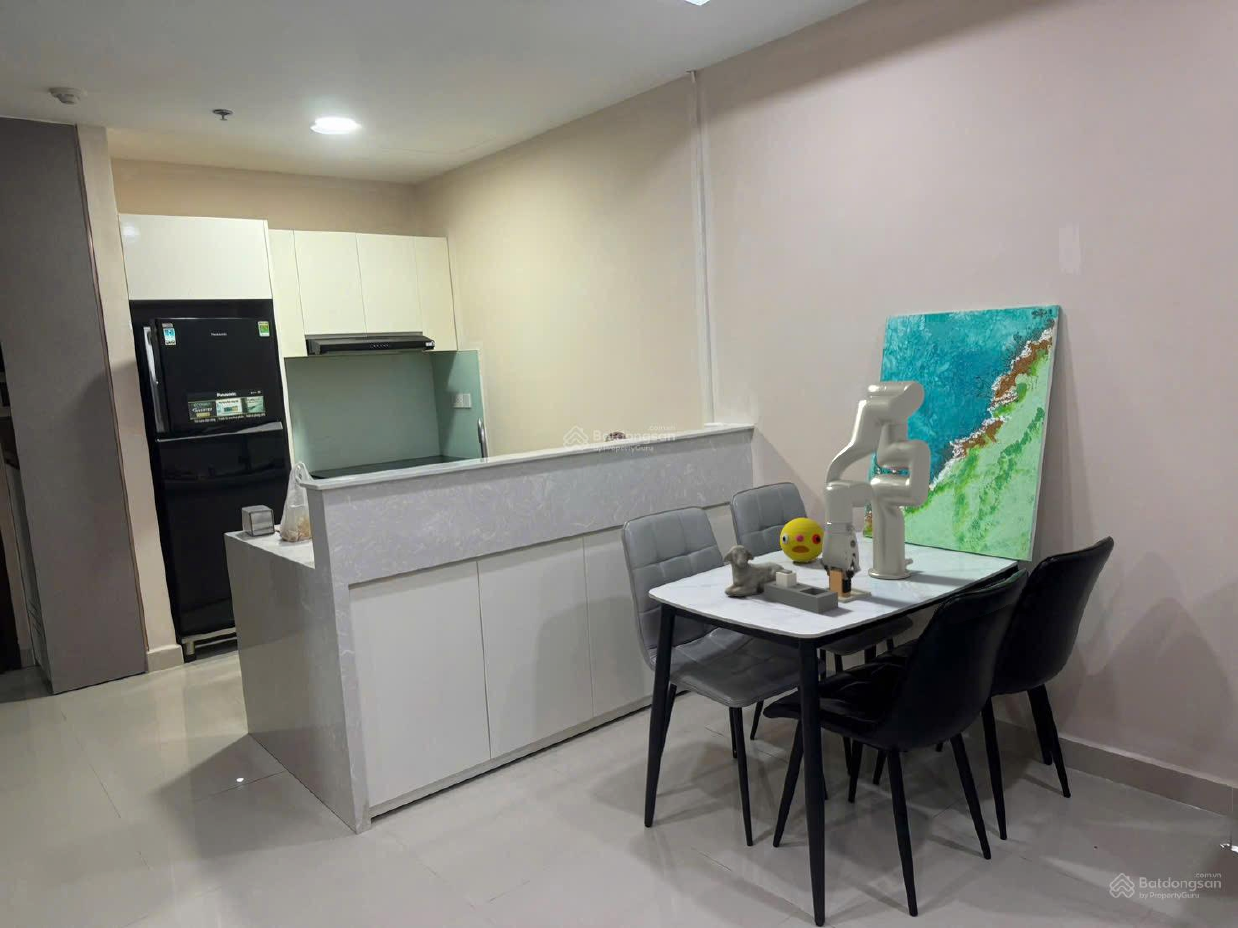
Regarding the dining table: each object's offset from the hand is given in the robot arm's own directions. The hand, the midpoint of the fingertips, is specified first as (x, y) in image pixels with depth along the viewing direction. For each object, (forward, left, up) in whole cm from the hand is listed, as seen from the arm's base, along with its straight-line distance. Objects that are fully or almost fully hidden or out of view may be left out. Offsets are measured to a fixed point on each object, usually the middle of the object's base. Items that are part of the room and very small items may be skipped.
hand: (840, 589), depth 235 cm
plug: (0, 0, -1) cm, 1 cm away
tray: (0, 0, -2) cm, 2 cm away
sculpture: (+13, -20, -2) cm, 24 cm away
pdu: (+14, -2, -2) cm, 15 cm away
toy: (-23, -35, -2) cm, 42 cm away
